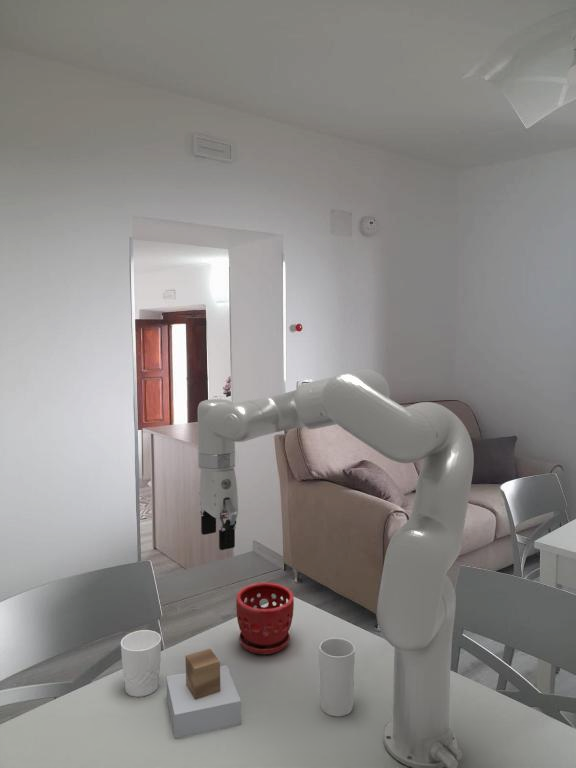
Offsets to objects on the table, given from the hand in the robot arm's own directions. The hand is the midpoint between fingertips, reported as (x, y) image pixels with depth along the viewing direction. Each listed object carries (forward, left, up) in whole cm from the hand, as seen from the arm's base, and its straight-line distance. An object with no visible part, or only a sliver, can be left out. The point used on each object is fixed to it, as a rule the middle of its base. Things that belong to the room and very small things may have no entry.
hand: (217, 540), depth 122 cm
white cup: (+2, +16, -29) cm, 33 cm away
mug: (-21, -16, -29) cm, 39 cm away
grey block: (-11, +8, -29) cm, 32 cm away
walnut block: (-11, +8, -24) cm, 27 cm away
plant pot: (+4, -13, -29) cm, 32 cm away
